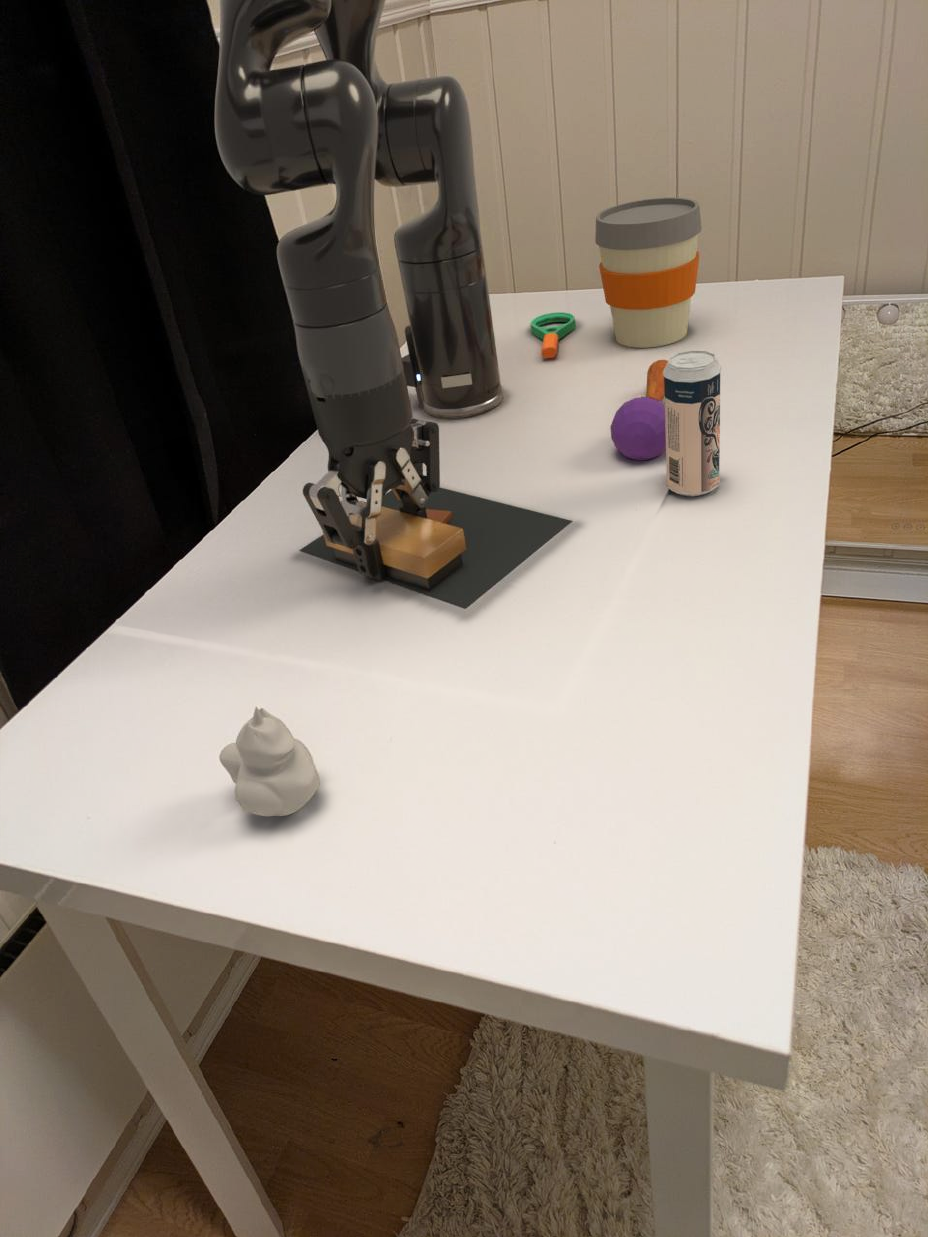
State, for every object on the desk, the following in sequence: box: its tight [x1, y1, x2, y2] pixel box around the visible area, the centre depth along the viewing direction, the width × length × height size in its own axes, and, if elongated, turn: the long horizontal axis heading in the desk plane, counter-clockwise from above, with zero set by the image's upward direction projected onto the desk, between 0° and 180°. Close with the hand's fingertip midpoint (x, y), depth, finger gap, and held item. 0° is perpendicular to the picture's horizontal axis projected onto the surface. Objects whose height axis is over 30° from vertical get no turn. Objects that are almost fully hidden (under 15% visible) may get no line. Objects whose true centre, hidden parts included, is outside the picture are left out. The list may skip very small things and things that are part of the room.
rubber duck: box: [218, 706, 321, 817], centre depth 56 cm, size 5×7×8 cm
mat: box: [298, 487, 573, 610], centre depth 82 cm, size 20×15×1 cm
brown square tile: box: [426, 509, 452, 524], centre depth 83 cm, size 4×4×1 cm
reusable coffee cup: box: [594, 196, 703, 349], centre depth 112 cm, size 13×13×15 cm
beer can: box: [663, 350, 722, 497], centre depth 79 cm, size 5×5×12 cm
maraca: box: [610, 359, 669, 461], centre depth 93 cm, size 6×6×20 cm
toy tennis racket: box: [530, 311, 577, 359], centre depth 120 cm, size 15×6×2 cm, turn 173°
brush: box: [321, 500, 466, 591], centre depth 78 cm, size 12×5×4 cm, turn 51°
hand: (396, 559), depth 78 cm, fingers closed on brush, 5 cm apart
